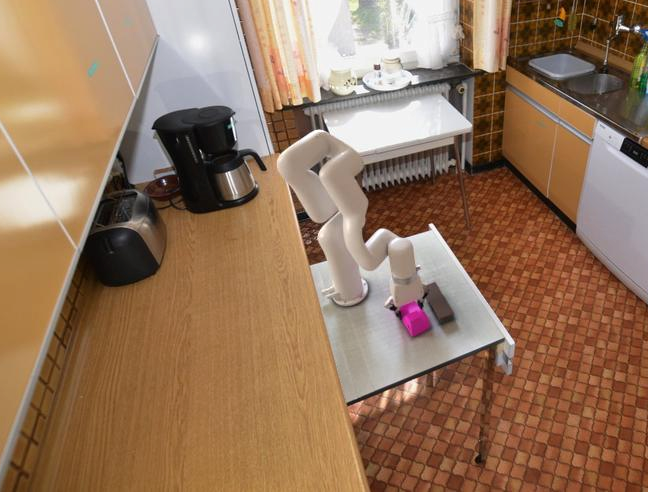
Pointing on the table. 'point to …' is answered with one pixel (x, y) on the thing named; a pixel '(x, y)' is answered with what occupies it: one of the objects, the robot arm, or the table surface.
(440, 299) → the brown rectangular block
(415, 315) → the toy block
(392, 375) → the table surface
